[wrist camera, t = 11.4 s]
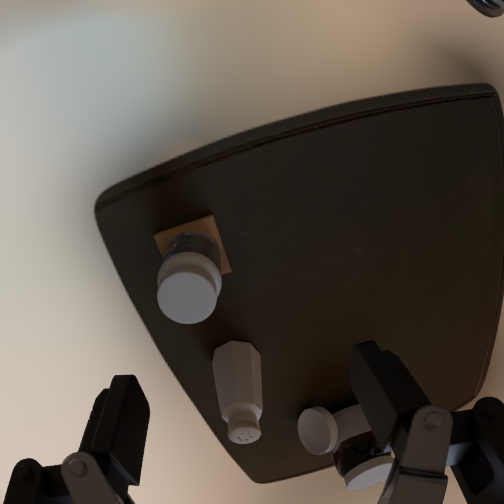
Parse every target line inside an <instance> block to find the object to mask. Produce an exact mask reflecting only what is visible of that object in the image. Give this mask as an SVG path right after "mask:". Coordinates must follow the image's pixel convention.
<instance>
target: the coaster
mask: <svg viewBox="0 0 504 504" xmlns="http://www.w3.org/2000/svg"><path fill="white" fill-rule="evenodd" d="M192 229H194V230H201V231H204V232H206V233H208V234H210V235H211V236H212V237H213V238H214V239H215V240H216V242H217V243H218V245H219V248H220V253H221V275H223V274H226V273H229V272H232V268H231V266H230V263H229V260H228V257H227V254H226V251H225V249H224V246H223V243H222V240H221V237H220V234H219V231H218V228H217V225H216V223H215V220H214V217H213V214H211V215H208V216H205V217H202V218H199V219H196V220H193V221H190V222H187V223H184V224H181V225H178V226H176V227H173V228H170V229H167V230H164V231H161V232H158V233H156V234H154V238H155V240H156V243H157V245H158V248H159V250H160V253H161V255H162V257H163V260H164V258H165V255H166V253H167V251H168V248H169V246H170V244H171V242H172V240H173V239H174V238H175V237H176V236H177V235H178V234H180V233H182V232H184V231H187V230H192Z"/></svg>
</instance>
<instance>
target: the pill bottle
mask: <svg viewBox="0 0 504 504" xmlns="http://www.w3.org/2000/svg"><path fill="white" fill-rule="evenodd" d="M157 282H158V291H157V300H158V304H159V307H160V308H161V310H162V312H163V313H164V314H165V315H166V316H167V317H169V318H170V319H172V320H174V321H176V322H179V323H183V324H193V323H197V322H200V321H203V320H204V319H206V318H207V317H208V316H210V314H211V313H212V312H213V310H214V308H215V306H216V302H217V297H218V295H219V293H220V290H221V284H222V277H221V253H220V248H219V245H218V243H217V242H216V240H215V239H214V238H213V237H212V236H211V235H210V234H208V233H206V232H204V231H201V230H194V229H192V230H187V231H184V232H182V233H180V234H178V235H177V236H176V237H175V238H174V239H173V240H172V242H171V244H170V246H169V248H168V251H167V253H166V255H165V258H164V260H163V263H162V265H161V267H160V270H159V273H158V279H157Z"/></svg>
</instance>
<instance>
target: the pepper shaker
mask: <svg viewBox="0 0 504 504" xmlns="http://www.w3.org/2000/svg"><path fill="white" fill-rule="evenodd" d="M212 367H213V373H214V379H215V384H216V390H217V395H218V401H219V406H220V411H221V415H222V418H223V419H224V420H225V421H226V422H228V430H229V431H228V437H229V439H230V440H231V441H233V442H235V443H239V444H248V443H252V442H254V441H256V440H257V439H258V438H259V437H260V435H261V430H260V428H259V423H258V421H259V418H260V416H261V413H262V386H261V364H260V354H259V353H258V352H257V351H256V349H255V348H254V347H253V346H252V345H251V343H248V342H240V341H232V340H231V341H229V342H227V343H225V344H224V345H222V346H220V347H218V348H216V349H215V351H214V356H213V361H212Z"/></svg>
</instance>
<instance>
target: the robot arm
mask: <svg viewBox="0 0 504 504" xmlns="http://www.w3.org/2000/svg"><path fill="white" fill-rule="evenodd" d="M480 1H481V2H482V3H484V4H485V5H486V6H488V7H490V8H493V9H497V8H500V7H503V8H504V0H480ZM349 379H350V384H351V387H352V390H353V392H354V394H355V396H356V398H357V400H358V402H359V404H360V406H361V409H362V411H363V413H364V415H365V417H366V419H367V421H368V423H369V425H370V427H371V430H372V432H373V434H374V436H375V438H376V440H377V442H378V444H379V447H380V449H381V451H382V453H386V452H389V451H392V450H393V452H394V455H395V458H394V461H393V464H392V467H391V470H390V472H389V475H388V478H387V481H386V483H385V486H384V488H383V491H382V494H381V496H380V499H379V501H378V503H377V504H443V499H444V496H445V492H446V488H447V483H448V477H447V475H445V474H444V473H445V467H446V466H450V467H451V469H452V471H453V474H454V476H455V478H456V480H457V482H458V484H459V486H460V488H461V491H462V493H463V495H464V497H465V499H466V502H467V504H504V404H503V403H502V402H501V401H500V400H499V399H497V398H494V397H484V398H481V399H480V400H478V401H477V402H476V404H475V405H474V407H473V409H470V410H464V411H457V412H449V411H448V410H447V409H445V408H444V407H442V406H439V405H432V404H431V402H430V401H429V400H428V398H427V397H426V395H425V394H424V392H423V391H422V389H421V388H420V386H419V385H418V384H417V382H416V381H415V379H414V378H413V376H411V374H410V372H409V371H408V369H407V368H405V365H404V364H403V362H402V361H401V360H400V358H399V357H398V356H396V355H395V354H393V353H392V352H390V351H389V350H385V351H381V350H380V349H379V347H378V346H377V344H376V343H375V342H374V341H373V340H371V341H367V342H363V343H359V344H354V345H353V347H352V354H351V363H350V372H349ZM89 418H90V419H89V420H88V423H87V426H86V429H85V432H84V435H83V438H82V441H81V444H80V447H79V450H78V452H76V453H72V454H71V455H69V456H67V457H66V458H65V460H64V461H63V463H62V464H61V465H54V466H46V467H42V466H41V465H40V464H39V463H38V462H37V461H36V460H34V459H31V458H26V459H23V460H21V461H19V462H18V463H17V464H16V466H15V467H14V469H13V472H12V475H11V478H10V481H9V485H8V488H7V492H6V495H5V499H4V503H3V504H135V503H134V501H133V500H132V498H131V497H130V495H129V494H128V486H129V485H135V486H139V483H140V476H141V468H142V461H143V454H144V448H145V441H146V436H147V430H148V424H149V418H150V408H149V403H148V401H147V399H146V397H145V395H144V393H143V391H142V388H141V386H140V384H139V382H138V380H137V378H136V376H135V375H115V376H114V377H113V379H112V382H111V385H110V388H109V389H103V391H102V392H101V393H100V394H99V395H98V396H97V398H96V400H95V403H94V405H93V411H91V414H90V417H89Z"/></svg>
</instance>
